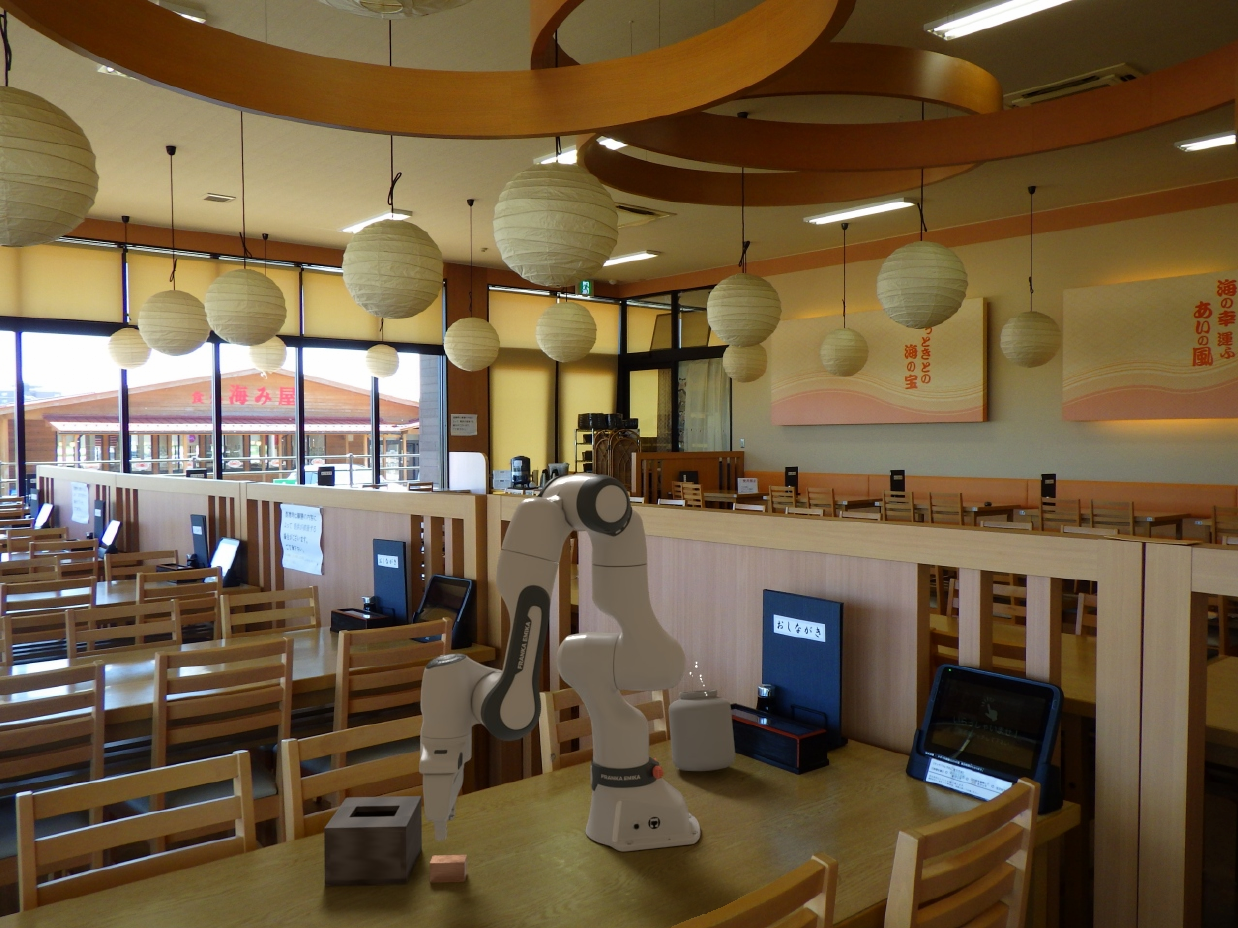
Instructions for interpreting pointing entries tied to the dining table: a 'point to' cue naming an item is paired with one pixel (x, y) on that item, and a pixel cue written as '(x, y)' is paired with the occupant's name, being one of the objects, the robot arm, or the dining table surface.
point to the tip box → (373, 841)
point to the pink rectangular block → (448, 868)
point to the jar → (701, 731)
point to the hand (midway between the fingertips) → (445, 828)
